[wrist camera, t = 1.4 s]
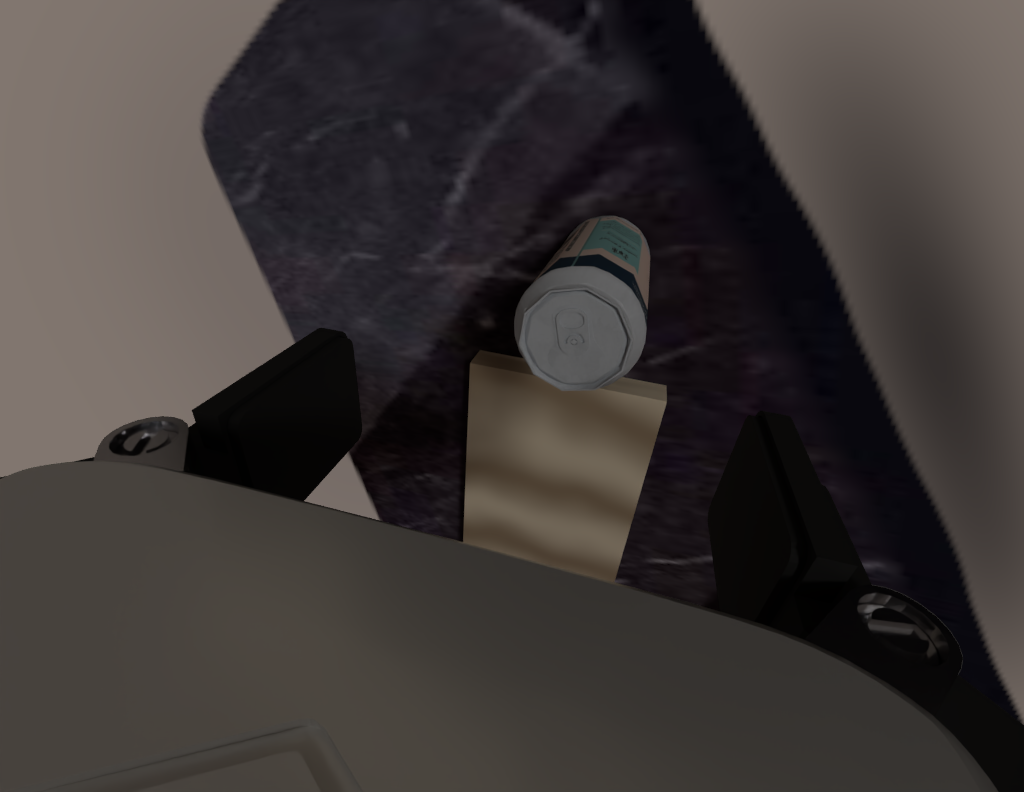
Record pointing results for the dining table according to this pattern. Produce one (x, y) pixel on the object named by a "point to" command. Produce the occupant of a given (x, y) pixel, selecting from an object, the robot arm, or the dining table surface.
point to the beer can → (587, 307)
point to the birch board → (555, 464)
